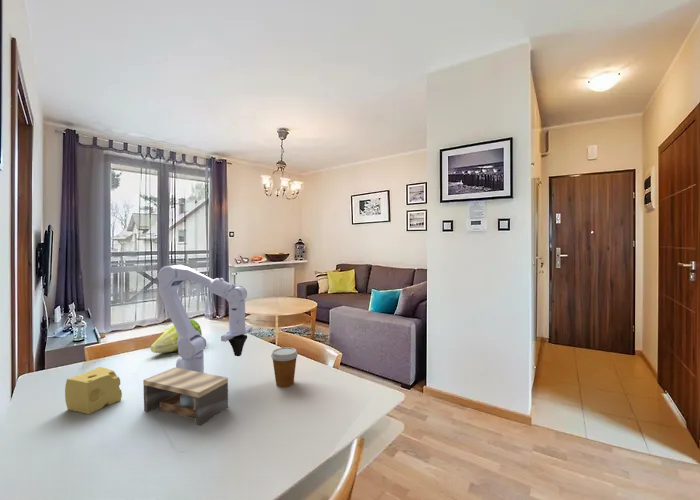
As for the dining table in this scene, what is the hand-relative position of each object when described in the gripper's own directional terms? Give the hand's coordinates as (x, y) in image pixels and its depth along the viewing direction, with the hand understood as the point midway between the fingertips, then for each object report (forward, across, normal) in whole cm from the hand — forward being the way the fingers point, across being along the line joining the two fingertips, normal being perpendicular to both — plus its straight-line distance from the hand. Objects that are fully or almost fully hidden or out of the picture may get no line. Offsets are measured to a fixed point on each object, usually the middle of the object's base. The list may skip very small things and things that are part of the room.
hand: (237, 355), depth 123 cm
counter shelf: (+9, -23, 0) cm, 25 cm away
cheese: (+10, -32, +30) cm, 45 cm away
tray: (+9, -17, 0) cm, 20 cm away
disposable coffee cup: (+10, +4, -18) cm, 21 cm away
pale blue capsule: (+9, -23, -1) cm, 25 cm away
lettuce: (+10, +17, +53) cm, 56 cm away
